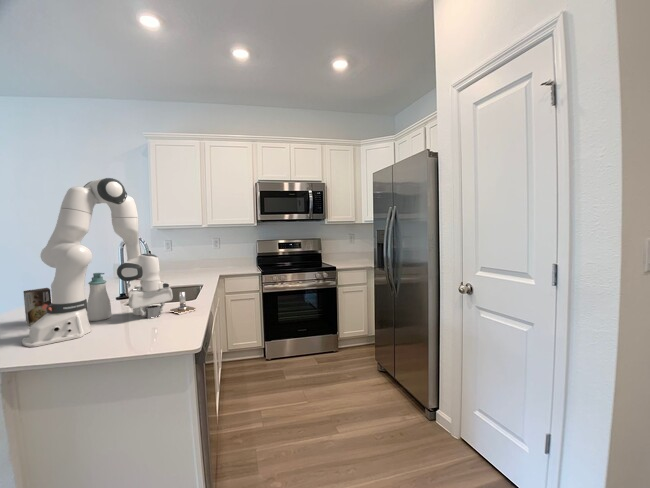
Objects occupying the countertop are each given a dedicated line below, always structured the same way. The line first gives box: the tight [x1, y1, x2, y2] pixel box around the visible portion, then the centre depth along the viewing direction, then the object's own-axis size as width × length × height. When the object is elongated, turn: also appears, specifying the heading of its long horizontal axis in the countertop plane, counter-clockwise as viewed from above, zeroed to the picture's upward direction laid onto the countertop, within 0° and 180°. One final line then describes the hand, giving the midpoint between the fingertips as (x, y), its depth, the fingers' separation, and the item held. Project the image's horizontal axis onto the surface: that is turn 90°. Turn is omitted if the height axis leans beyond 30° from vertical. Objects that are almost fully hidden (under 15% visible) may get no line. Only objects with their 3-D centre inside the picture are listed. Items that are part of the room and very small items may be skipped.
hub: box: [144, 304, 162, 319], centre depth 160 cm, size 6×6×5 cm
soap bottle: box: [87, 272, 112, 322], centre depth 158 cm, size 10×10×23 cm
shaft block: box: [169, 291, 196, 313], centre depth 169 cm, size 9×9×10 cm
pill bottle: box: [132, 284, 151, 316], centre depth 166 cm, size 8×8×15 cm
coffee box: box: [23, 287, 52, 327], centre depth 153 cm, size 9×6×16 cm
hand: (152, 313), depth 160 cm, fingers open, 7 cm apart
